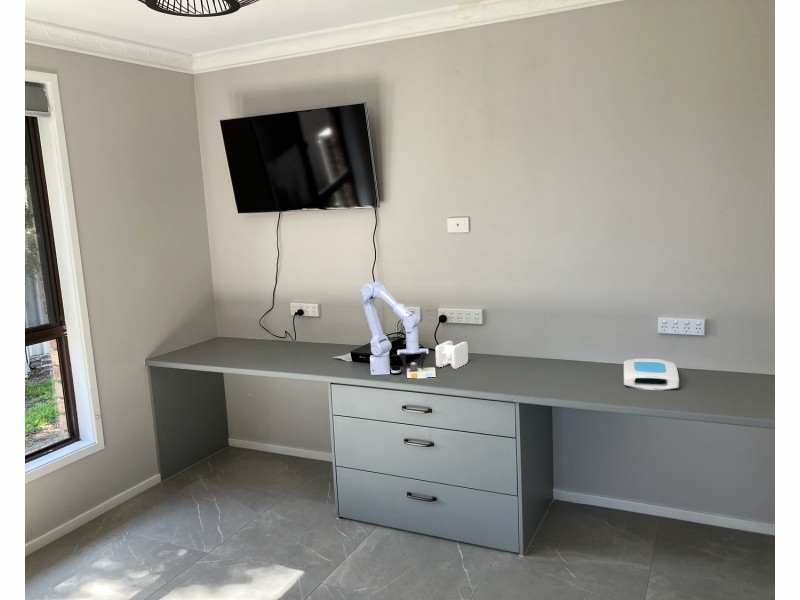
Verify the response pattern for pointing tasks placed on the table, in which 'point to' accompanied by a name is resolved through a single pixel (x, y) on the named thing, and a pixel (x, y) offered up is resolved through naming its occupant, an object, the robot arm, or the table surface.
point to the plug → (413, 367)
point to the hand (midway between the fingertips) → (413, 368)
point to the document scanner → (650, 373)
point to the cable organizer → (451, 354)
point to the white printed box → (421, 373)
